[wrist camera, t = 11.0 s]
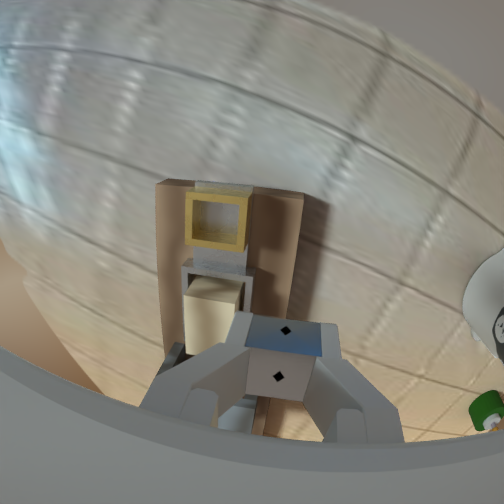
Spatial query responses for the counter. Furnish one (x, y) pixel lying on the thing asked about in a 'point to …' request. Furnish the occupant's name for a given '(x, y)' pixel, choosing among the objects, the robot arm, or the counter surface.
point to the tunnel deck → (265, 288)
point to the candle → (487, 411)
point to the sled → (219, 235)
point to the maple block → (210, 311)
